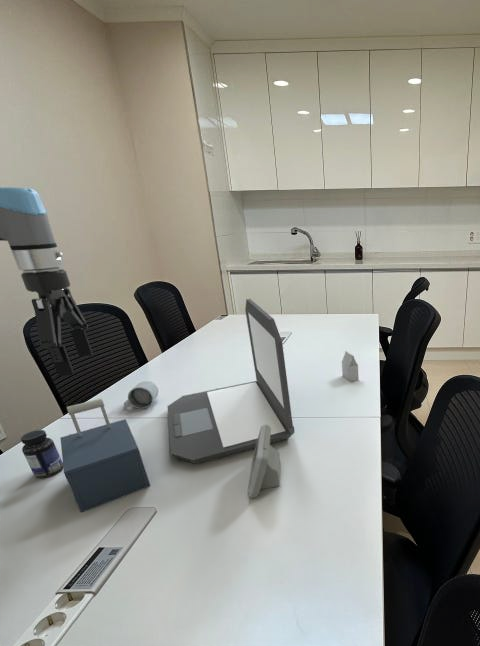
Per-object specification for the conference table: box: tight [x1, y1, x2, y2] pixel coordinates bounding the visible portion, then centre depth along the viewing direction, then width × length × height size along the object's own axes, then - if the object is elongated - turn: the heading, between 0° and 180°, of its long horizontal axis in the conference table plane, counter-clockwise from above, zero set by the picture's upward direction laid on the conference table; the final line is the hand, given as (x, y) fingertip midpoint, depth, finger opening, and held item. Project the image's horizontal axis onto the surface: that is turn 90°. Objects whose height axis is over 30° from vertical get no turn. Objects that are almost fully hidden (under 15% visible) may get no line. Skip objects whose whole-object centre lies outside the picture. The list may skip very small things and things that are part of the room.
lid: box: [59, 397, 140, 476], centre depth 89 cm, size 18×14×9 cm
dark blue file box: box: [64, 450, 151, 513], centre depth 92 cm, size 17×14×10 cm
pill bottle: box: [20, 429, 64, 479], centre depth 96 cm, size 6×6×11 cm
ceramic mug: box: [123, 380, 159, 410], centre depth 131 cm, size 11×8×8 cm
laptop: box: [167, 298, 295, 465], centre depth 113 cm, size 43×31×34 cm
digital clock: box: [247, 425, 282, 499], centre depth 92 cm, size 16×9×11 cm, turn 0°
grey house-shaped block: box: [341, 350, 360, 383], centre depth 147 cm, size 4×7×10 cm, turn 27°
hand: (77, 364), depth 90 cm, fingers open, 13 cm apart
